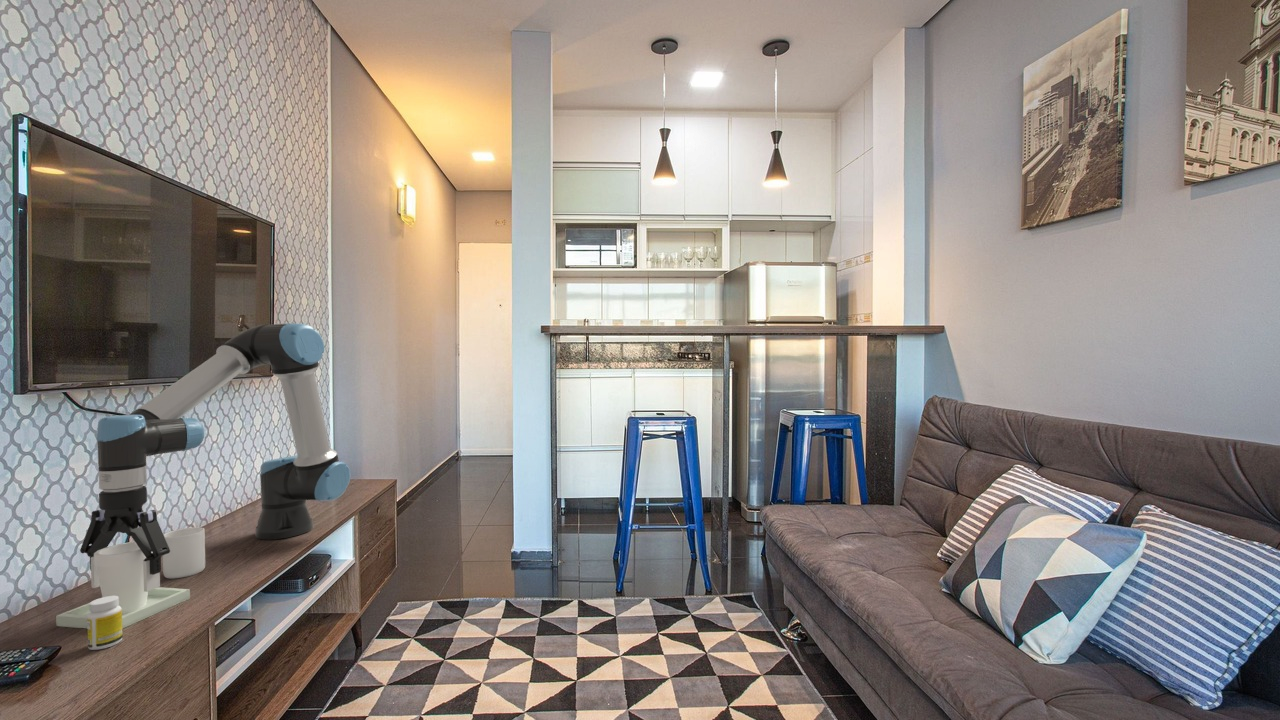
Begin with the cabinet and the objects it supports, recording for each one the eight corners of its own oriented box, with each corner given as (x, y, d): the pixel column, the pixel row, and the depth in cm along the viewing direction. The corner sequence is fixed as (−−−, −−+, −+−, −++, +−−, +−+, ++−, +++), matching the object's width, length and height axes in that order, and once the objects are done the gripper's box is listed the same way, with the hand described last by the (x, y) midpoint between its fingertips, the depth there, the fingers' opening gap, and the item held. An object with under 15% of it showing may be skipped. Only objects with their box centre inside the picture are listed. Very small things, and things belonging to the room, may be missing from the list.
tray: (135, 594, 129) (134, 585, 129) (189, 598, 126) (189, 589, 126) (56, 625, 114) (56, 615, 114) (116, 631, 111) (116, 620, 111)
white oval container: (176, 564, 147) (175, 525, 147) (214, 560, 150) (213, 521, 150) (157, 581, 136) (156, 539, 136) (199, 575, 139) (198, 534, 139)
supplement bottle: (129, 637, 109) (128, 594, 109) (107, 650, 104) (105, 605, 104) (104, 638, 108) (102, 595, 108) (80, 651, 104) (79, 605, 104)
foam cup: (84, 621, 114) (82, 558, 114) (113, 602, 123) (111, 543, 123) (140, 614, 117) (138, 552, 117) (164, 596, 126) (163, 539, 126)
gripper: (55, 490, 118) (58, 591, 118) (153, 493, 114) (156, 598, 114) (95, 482, 126) (98, 577, 126) (189, 485, 121) (191, 583, 121)
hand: (125, 587), depth 120 cm, fingers open, 13 cm apart
